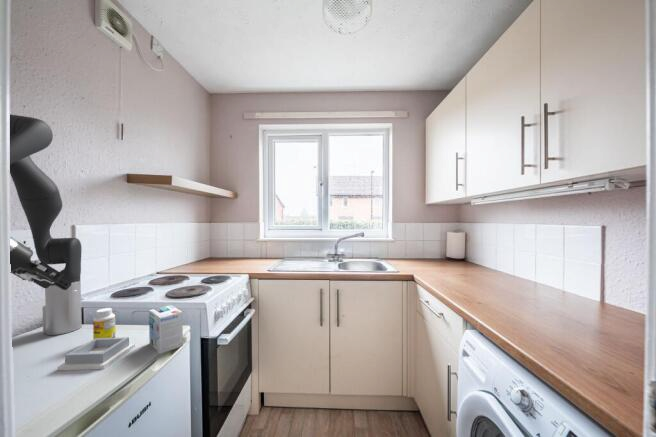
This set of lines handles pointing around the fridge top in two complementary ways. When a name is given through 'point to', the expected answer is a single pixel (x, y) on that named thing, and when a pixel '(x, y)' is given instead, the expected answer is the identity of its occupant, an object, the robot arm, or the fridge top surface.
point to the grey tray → (96, 354)
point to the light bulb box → (165, 328)
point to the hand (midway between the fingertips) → (58, 286)
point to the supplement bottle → (104, 324)
